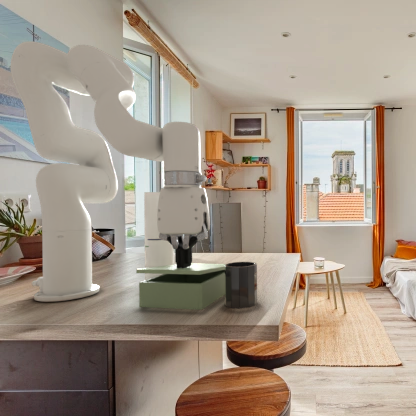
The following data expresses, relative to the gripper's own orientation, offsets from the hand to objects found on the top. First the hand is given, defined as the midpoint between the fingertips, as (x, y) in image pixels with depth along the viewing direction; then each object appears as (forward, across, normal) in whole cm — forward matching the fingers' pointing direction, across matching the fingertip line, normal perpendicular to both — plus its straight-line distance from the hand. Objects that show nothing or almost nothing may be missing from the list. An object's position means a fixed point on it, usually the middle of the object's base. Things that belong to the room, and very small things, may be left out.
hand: (184, 266), depth 70 cm
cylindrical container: (+8, +16, -16) cm, 24 cm away
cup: (+8, -13, 0) cm, 15 cm away
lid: (+1, 0, -4) cm, 4 cm away
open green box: (+8, 0, -4) cm, 9 cm away
